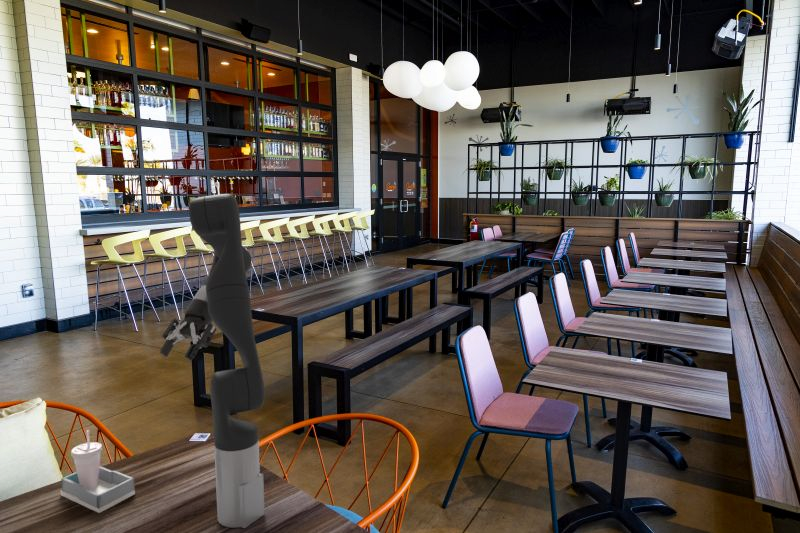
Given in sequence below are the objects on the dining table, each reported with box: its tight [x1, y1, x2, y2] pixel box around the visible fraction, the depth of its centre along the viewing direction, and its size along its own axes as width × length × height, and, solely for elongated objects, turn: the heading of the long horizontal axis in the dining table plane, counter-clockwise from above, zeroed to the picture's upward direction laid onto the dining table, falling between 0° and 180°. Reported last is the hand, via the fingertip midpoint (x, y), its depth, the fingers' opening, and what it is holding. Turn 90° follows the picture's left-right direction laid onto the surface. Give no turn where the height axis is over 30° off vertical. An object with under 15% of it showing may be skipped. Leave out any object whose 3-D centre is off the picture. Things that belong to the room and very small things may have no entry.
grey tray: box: [60, 465, 136, 514], centre depth 126 cm, size 15×9×4 cm, turn 61°
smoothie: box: [70, 429, 103, 490], centre depth 127 cm, size 6×6×14 cm
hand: (175, 357), depth 139 cm, fingers open, 8 cm apart
